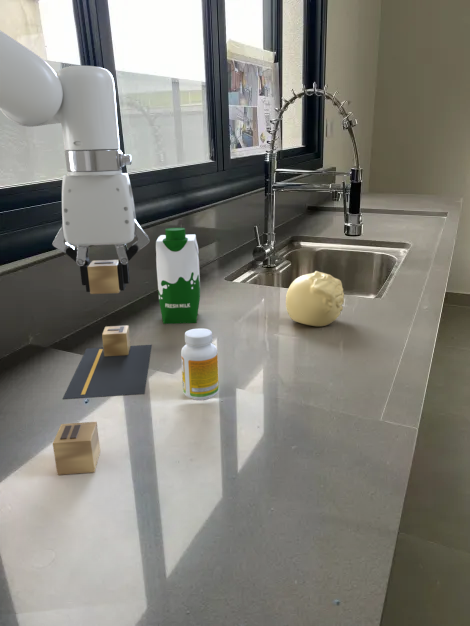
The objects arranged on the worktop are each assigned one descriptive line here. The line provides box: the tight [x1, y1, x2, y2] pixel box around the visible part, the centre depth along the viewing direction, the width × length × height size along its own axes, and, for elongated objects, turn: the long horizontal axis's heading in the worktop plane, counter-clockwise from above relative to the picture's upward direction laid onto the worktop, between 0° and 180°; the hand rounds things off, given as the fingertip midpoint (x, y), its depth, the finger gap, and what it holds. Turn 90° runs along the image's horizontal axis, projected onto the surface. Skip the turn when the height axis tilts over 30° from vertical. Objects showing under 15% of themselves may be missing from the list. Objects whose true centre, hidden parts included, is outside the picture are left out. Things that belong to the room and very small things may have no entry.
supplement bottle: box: [180, 327, 220, 401], centre depth 74 cm, size 5×5×10 cm
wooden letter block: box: [87, 259, 121, 295], centre depth 75 cm, size 4×4×4 cm
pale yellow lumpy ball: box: [285, 270, 345, 327], centre depth 103 cm, size 12×12×11 cm
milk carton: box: [155, 227, 201, 325], centre depth 105 cm, size 9×9×20 cm
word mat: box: [62, 344, 153, 400], centre depth 83 cm, size 12×20×1 cm, turn 6°
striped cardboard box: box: [52, 421, 101, 476], centre depth 58 cm, size 4×4×4 cm
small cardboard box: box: [101, 325, 131, 356], centre depth 90 cm, size 4×4×4 cm
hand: (106, 287), depth 76 cm, fingers closed on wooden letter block, 4 cm apart
